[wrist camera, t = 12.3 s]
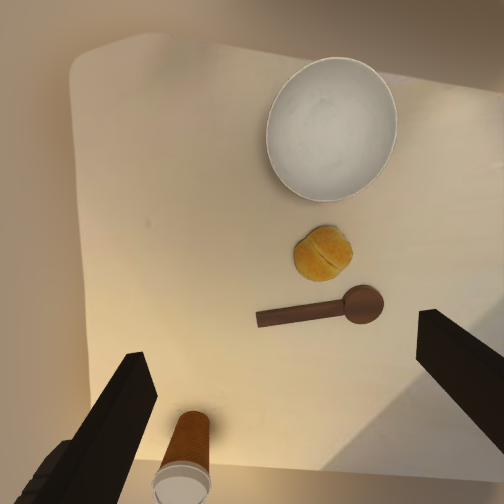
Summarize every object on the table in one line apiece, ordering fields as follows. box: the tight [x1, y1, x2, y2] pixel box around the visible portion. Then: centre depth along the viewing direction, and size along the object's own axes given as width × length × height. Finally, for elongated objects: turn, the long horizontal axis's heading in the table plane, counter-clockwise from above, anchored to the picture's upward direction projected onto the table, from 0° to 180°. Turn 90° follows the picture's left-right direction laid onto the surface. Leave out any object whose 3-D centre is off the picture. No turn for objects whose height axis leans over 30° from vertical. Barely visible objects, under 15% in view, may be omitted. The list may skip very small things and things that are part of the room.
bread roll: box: [294, 227, 353, 282], centre depth 39 cm, size 8×9×4 cm
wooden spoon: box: [256, 285, 384, 328], centre depth 43 cm, size 7×22×1 cm, turn 98°
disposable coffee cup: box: [152, 412, 211, 504], centre depth 45 cm, size 10×10×12 cm
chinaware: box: [266, 57, 397, 202], centre depth 32 cm, size 15×15×8 cm
